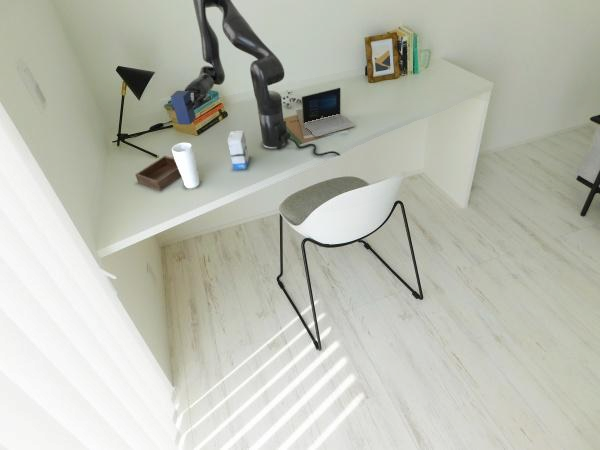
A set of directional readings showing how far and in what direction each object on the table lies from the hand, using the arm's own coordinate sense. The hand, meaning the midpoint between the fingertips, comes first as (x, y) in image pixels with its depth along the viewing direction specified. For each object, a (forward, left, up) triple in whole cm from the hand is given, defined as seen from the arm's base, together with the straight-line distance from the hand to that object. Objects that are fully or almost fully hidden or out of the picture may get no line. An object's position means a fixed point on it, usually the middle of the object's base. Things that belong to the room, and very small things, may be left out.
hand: (180, 107), depth 148 cm
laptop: (-40, -41, -19) cm, 60 cm away
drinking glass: (-17, +18, -19) cm, 31 cm away
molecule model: (-14, -54, -19) cm, 59 cm away
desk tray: (-3, +18, -18) cm, 26 cm away
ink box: (-24, -1, -19) cm, 31 cm away
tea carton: (+1, -2, -7) cm, 7 cm away
